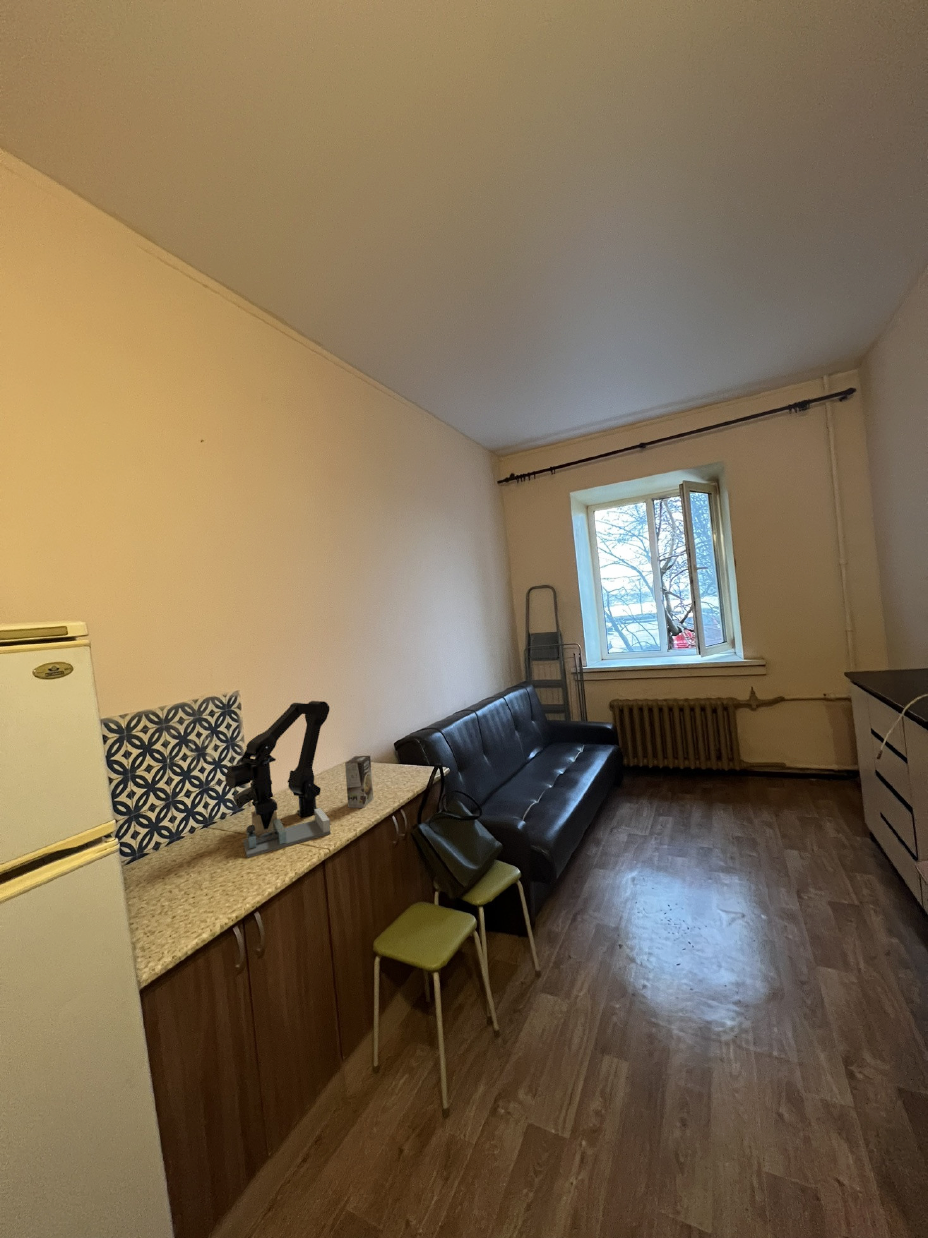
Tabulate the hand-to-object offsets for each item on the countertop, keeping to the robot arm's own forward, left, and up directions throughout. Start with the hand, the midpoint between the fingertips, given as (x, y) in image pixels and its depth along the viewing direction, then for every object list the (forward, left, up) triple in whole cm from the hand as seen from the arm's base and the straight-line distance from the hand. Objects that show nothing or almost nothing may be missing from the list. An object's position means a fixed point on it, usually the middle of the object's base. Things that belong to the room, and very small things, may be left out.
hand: (264, 826), depth 156 cm
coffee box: (-3, +33, -2) cm, 33 cm away
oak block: (0, 0, -1) cm, 1 cm away
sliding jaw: (+10, -1, -1) cm, 10 cm away
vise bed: (+10, +5, -2) cm, 11 cm away
